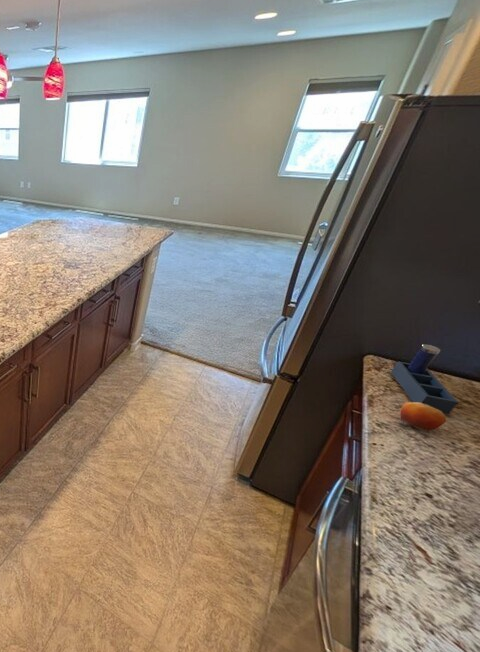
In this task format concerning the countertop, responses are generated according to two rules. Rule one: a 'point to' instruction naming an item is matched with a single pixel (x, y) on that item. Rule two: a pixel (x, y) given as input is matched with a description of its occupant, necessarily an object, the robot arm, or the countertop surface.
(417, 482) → the countertop surface
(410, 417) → the fruit
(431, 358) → the thermos
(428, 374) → the rack
